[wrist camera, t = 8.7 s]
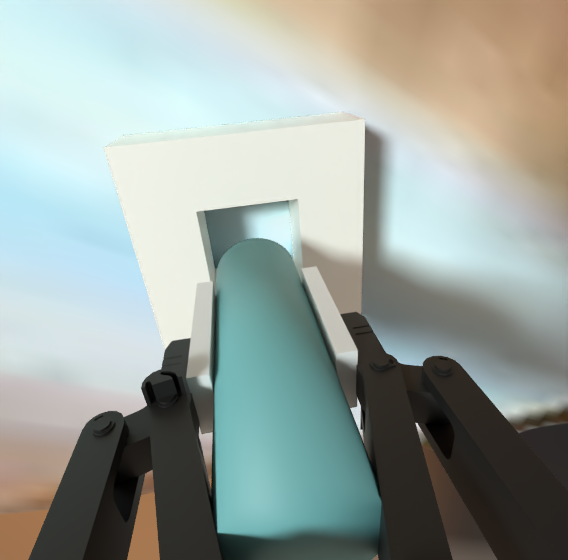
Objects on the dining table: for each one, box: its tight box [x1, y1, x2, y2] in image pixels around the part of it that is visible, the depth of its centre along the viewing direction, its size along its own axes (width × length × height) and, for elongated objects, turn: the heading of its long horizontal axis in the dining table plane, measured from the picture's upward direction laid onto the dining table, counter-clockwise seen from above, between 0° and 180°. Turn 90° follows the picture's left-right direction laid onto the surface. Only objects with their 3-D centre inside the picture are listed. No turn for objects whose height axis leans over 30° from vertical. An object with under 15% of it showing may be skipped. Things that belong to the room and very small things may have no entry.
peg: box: [211, 238, 382, 560], centre depth 15 cm, size 4×4×14 cm
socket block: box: [104, 112, 365, 349], centre depth 26 cm, size 14×14×4 cm
